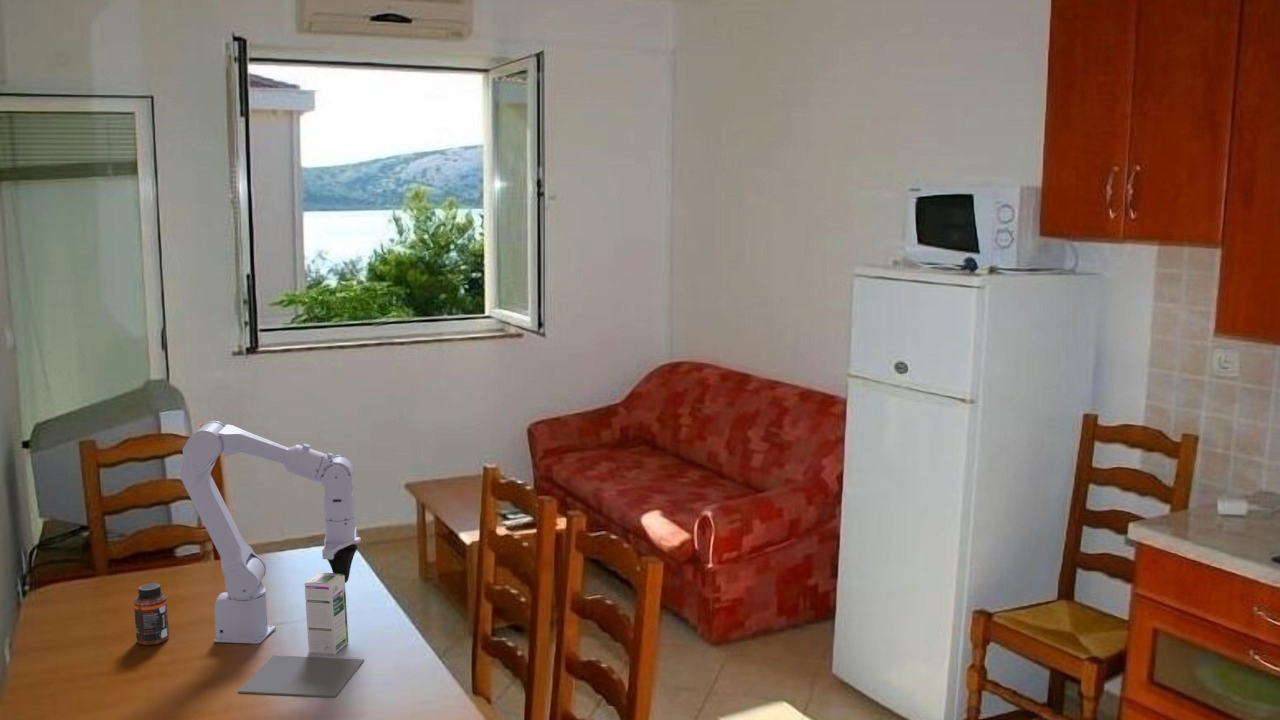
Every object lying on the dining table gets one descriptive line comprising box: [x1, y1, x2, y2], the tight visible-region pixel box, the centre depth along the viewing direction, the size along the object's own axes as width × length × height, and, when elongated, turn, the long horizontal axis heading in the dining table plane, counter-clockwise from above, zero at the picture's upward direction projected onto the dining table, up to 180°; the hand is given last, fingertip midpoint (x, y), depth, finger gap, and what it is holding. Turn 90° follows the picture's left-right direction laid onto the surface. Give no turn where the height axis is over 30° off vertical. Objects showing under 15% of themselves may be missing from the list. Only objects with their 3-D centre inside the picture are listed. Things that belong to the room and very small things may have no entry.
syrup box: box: [304, 572, 349, 656], centre depth 209 cm, size 6×6×14 cm
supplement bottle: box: [133, 582, 170, 646], centre depth 212 cm, size 6×6×11 cm
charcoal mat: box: [237, 654, 365, 698], centre depth 197 cm, size 18×15×1 cm
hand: (341, 581), depth 217 cm, fingers closed
